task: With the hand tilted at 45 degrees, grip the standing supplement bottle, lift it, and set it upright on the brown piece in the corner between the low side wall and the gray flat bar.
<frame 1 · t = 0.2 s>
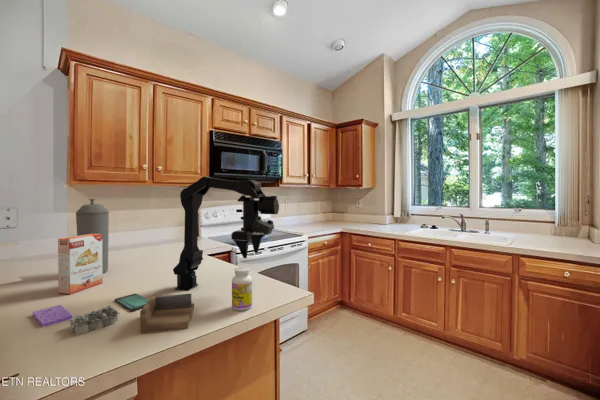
hand: (250, 255, 105), 14 cm above the table, tool pointing down, fingers open, 9 cm apart
supplement bottle: (242, 308, 93), on the table
smartphone: (133, 304, 97), on the table
gray flat bar: (174, 301, 88), point 4 cm above the table
egg carton: (94, 326, 81), on the table
cracker box: (82, 288, 112), on the table
sponges: (52, 319, 86), on the table
canister: (94, 273, 133), on the table
brown piece: (168, 322, 82), on the table
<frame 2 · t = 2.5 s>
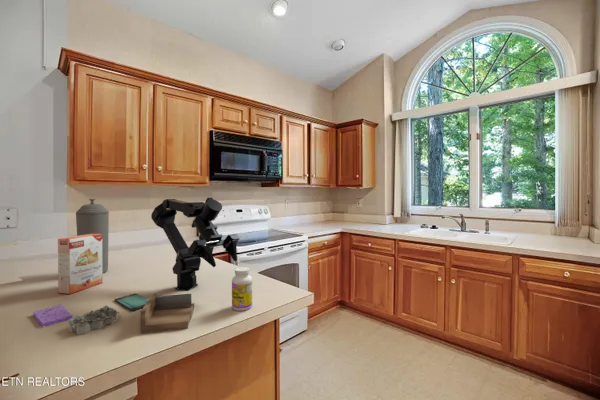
hand: (225, 263, 98), 13 cm above the table, tool tilted 45°, fingers open, 9 cm apart
nothing on the table moved.
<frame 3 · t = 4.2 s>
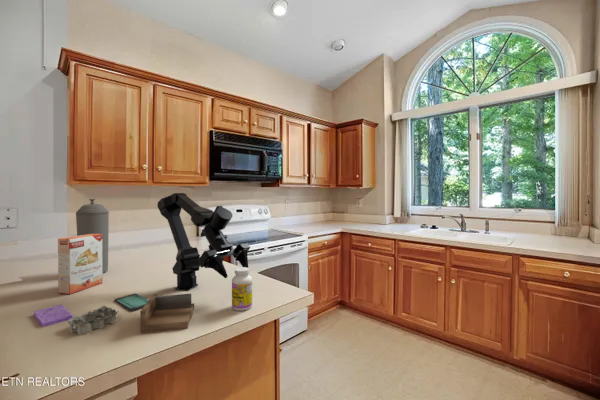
hand: (237, 274, 94), 11 cm above the table, tool tilted 45°, fingers open, 9 cm apart
nothing on the table moved.
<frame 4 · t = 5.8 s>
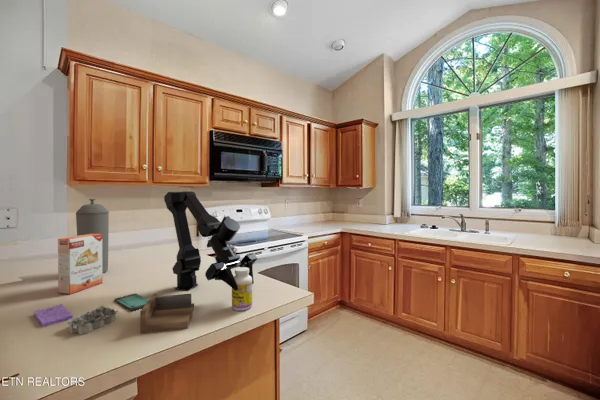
hand: (245, 286, 92), 7 cm above the table, tool tilted 45°, fingers closed on supplement bottle, 7 cm apart
supplement bottle: (242, 307, 93), on the table, touching gripper
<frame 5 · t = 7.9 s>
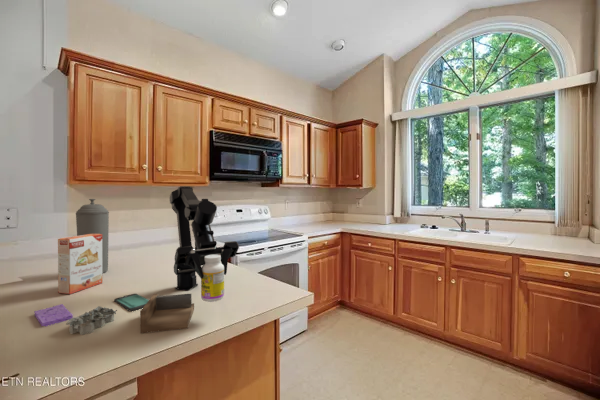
hand: (214, 276, 84), 13 cm above the table, tool tilted 45°, fingers closed on supplement bottle, 7 cm apart
supplement bottle: (212, 298, 85), point 6 cm above the table, touching gripper
when the fingers open (10 cm above the table, at t = 10.3 s): supplement bottle drops 1 cm, resting on brown piece.
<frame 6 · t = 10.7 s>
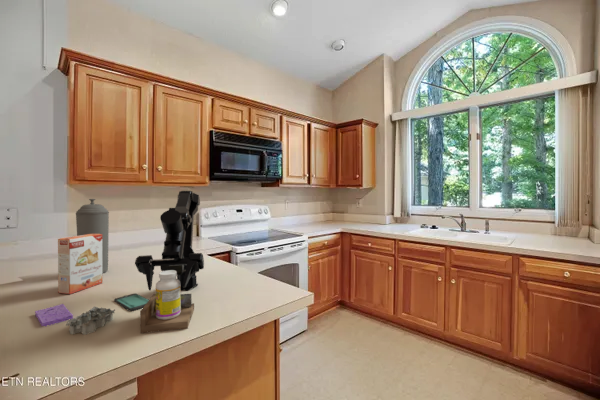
hand: (167, 288, 81), 11 cm above the table, tool tilted 45°, fingers open, 9 cm apart
supplement bottle: (168, 316, 82), point 2 cm above the table, touching brown piece
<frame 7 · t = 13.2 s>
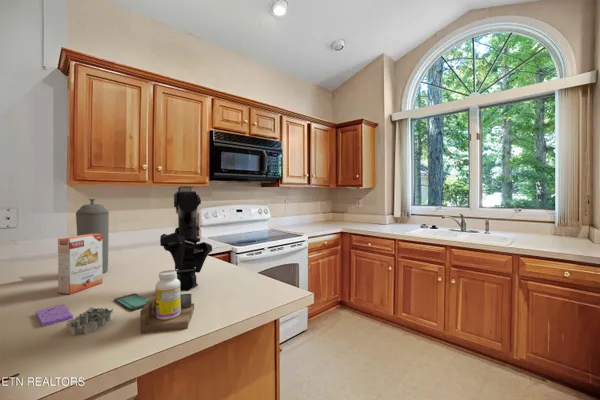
hand: (189, 270, 89), 13 cm above the table, tool tilted 30°, fingers open, 9 cm apart
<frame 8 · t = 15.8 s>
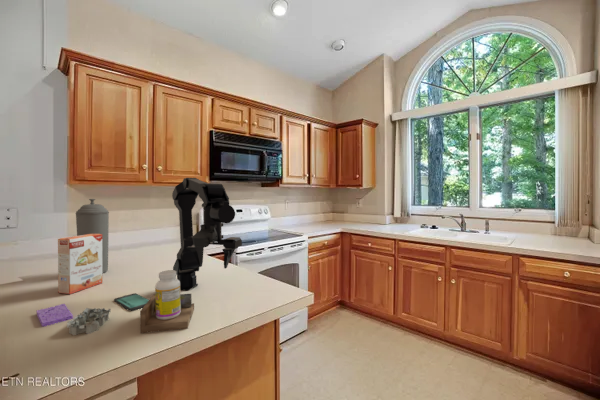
hand: (212, 267, 94), 13 cm above the table, tool pointing down, fingers open, 9 cm apart
at the end: supplement bottle 0.1 cm off-centre on the brown piece, point 1.8 cm above the brown piece's base; supplement bottle tilted 0°; the gripper is holding nothing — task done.
